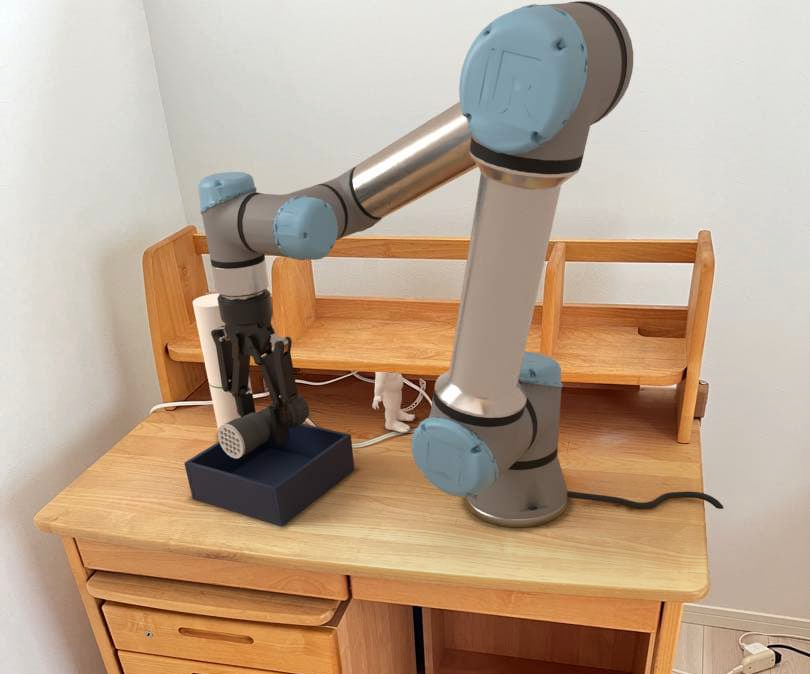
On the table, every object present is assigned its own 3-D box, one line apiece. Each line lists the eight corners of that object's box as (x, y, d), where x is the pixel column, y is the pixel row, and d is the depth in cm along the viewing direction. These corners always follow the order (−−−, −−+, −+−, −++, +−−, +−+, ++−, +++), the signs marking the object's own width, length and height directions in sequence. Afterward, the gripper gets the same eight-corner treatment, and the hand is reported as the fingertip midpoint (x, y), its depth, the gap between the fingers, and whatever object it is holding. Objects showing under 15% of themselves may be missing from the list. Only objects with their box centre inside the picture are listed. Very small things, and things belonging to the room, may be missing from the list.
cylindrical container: (266, 430, 151) (244, 295, 137) (243, 447, 146) (217, 308, 132) (235, 424, 154) (210, 291, 140) (211, 440, 149) (183, 304, 135)
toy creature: (406, 440, 145) (402, 376, 138) (372, 438, 146) (367, 375, 139) (419, 411, 154) (415, 350, 148) (387, 410, 156) (383, 349, 149)
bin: (354, 470, 137) (351, 434, 133) (281, 526, 123) (275, 488, 120) (269, 448, 145) (263, 414, 142) (192, 498, 132) (183, 462, 128)
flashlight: (290, 416, 136) (285, 386, 133) (314, 424, 134) (310, 393, 131) (220, 453, 126) (214, 421, 123) (245, 462, 124) (239, 429, 121)
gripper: (311, 291, 115) (328, 439, 128) (212, 277, 124) (237, 417, 137) (277, 307, 110) (299, 460, 123) (176, 291, 118) (206, 436, 131)
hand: (266, 437), depth 130 cm, fingers closed on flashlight, 6 cm apart
